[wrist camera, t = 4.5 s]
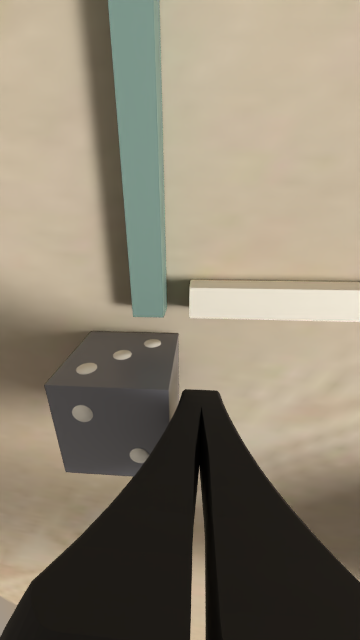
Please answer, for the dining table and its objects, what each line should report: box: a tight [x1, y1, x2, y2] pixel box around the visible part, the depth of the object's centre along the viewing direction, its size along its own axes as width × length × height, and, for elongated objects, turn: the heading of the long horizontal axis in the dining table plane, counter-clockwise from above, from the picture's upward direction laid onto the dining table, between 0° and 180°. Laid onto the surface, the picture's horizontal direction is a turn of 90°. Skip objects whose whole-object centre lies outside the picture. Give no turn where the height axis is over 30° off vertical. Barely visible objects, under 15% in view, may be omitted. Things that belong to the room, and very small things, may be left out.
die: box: [44, 331, 179, 476], centre depth 11 cm, size 4×4×4 cm
